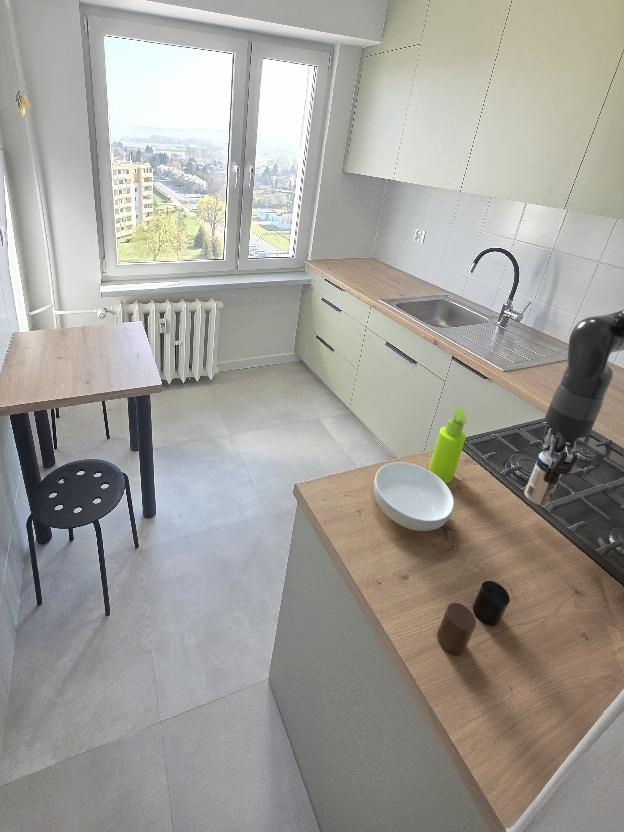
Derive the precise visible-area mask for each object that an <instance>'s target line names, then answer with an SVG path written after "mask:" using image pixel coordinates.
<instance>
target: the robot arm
mask: <svg viewBox="0 0 624 832" xmlns="http://www.w3.org/2000/svg"><path fill="white" fill-rule="evenodd" d="M621 351H624V309H622V310H617V311H615V312H611V313H608V314H602V315H595V316H589V317H585V318H583V319H581V320H580V321H578V322H577V323H576V325H575V326H574V327H573V328H572V330H571V332H570V335H569V339H568V348H567V366H566V367H565V369H564V373H563V374H562V378H561V380H560V382H559V384H558V385H557V388H556V389H555V391H554V393H553V396H552V399H551V401H550V403H549V407H548V409H547V412H546V414H545V417H544V421H545V423H546V425H545V428H544V431H543V433H542V434H543V435H542V438H541V443H543V445H542V452H543V451H546V450H549V456H550V457H551V458H550V462H549V465H548V468H547V470H546V473H545V475H544V477H543V478H544V481H545V482H548V483H551V484H556V483H557V481H558V478H559V476H560V474H562V475H565V476H567V475H568V474H569V473H570V471H571V470H572V468H573V467H574V465H575V464H576V462H577V461H578V459H579V457H578V454H575V453H573V451H574V450H575V449H576V445H577V440H578V439H582V438H586V437H588V436H590V434H591V432H592V430H593V427H594V426H595V423H596V421H597V418H598V416H599V415H600V412H601V409H602V407H603V403H604V399H605V397H606V394H607V392H608V389H609V387H610V385H611V383H612V379H613V376H614V371H613V369H612V367H611V366H610V365H609V364H608V361H609V358H610V356H611V354H612V353H616V352H621ZM554 452H556V453H558V454H559V455H558V454H555V453H554ZM555 459H556V461H555Z"/></svg>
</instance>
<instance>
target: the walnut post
mask: <svg viewBox="0 0 624 832" xmlns="http://www.w3.org/2000/svg"><path fill="white" fill-rule="evenodd" d="M476 627H477V622H476V616H475V614H474V613H473V612H472V611H471V610H470V609H469V608H468V607H467V606H465V605H464V604H461V603H459V602H451V603H449V604H448V605H447V607H446V610H445V613H444V615H443V617H442V620H441V622H440V625H439V627H438V630H437V633H436V638H437V641H438V643H439V646H440V647H441V648H442V649H443V650H444V651H445V652H446V653H448V654H449V655H452V656H454V657H459V656H462V655H464V654H465V652H466V649H467V647H468V644H469V642H470V640H471V637H472V635H473V632H474V631H475V629H476Z"/></svg>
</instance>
